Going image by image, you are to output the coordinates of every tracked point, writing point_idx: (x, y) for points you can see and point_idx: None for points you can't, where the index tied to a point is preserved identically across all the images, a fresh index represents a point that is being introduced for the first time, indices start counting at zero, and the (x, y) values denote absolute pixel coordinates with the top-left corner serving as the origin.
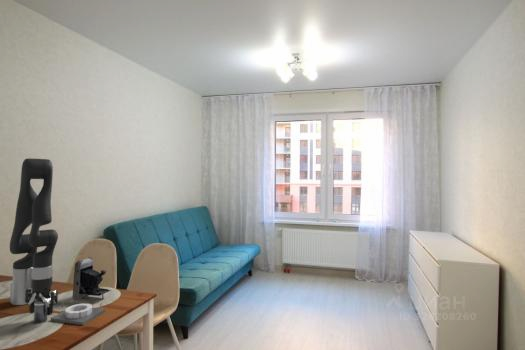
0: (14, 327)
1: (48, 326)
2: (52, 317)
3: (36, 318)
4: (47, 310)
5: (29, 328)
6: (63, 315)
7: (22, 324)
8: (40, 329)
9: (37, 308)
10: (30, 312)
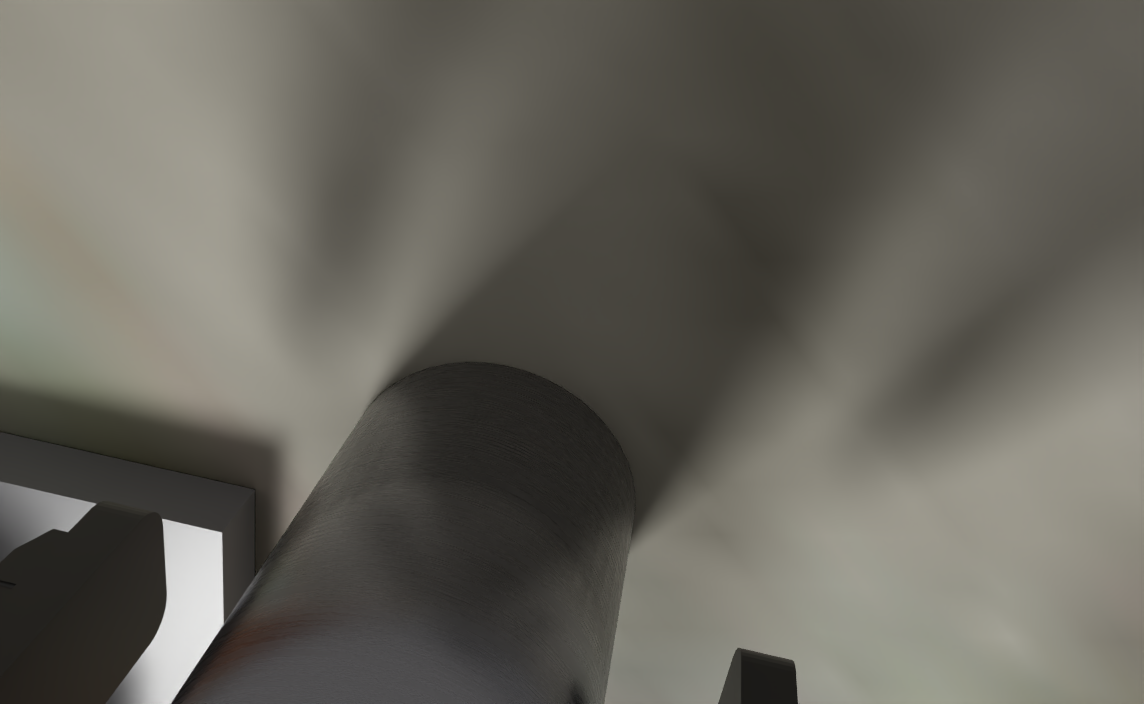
0: (952, 89)
1: (47, 203)
2: (201, 558)
3: (455, 433)
4: (17, 603)
5: (440, 54)
6: None
7: (830, 292)
8: (91, 14)
9: (321, 667)
10: (761, 662)
